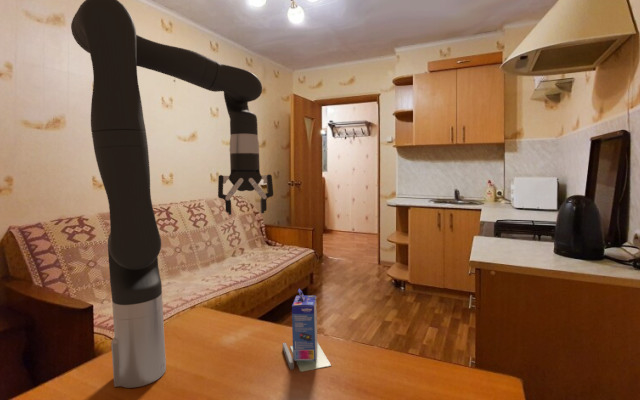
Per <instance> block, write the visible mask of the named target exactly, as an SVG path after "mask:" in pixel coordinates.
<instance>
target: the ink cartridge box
mask: <svg viewBox="0 0 640 400" xmlns="http://www.w3.org/2000/svg"><path fill="white" fill-rule="evenodd" d="M297 294H298V295H296V296H295V298H294V300H293V303H292V304H291V321H292V322H291V323H292V324H291V328H292V330H291V331H292V346H293V353H292V359H293V362H294V361H295V362H296V361H315V360H316V357H317V345H318V344H319V342H318V311H317V308H318V306H317V296H316V295H304V293H303V291H302V290H301V288H298V290H297ZM317 342H318V343H317Z"/></svg>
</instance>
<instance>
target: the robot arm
mask: <svg viewBox="0 0 640 400" xmlns="http://www.w3.org/2000/svg"><path fill="white" fill-rule="evenodd" d="M136 29H137V28H136V25H135V21H134V18H133V17H132V15H131V13H130V11H128V9H127V8H126V7H125V5H124V4H123V3H121V2H120V1H119V0H84V1H83V2H82V3H81V4H80V5H79V7H78V9H77V10H76V12H75V14H74V15H73V17H72V19H71V23H70V30H71V34H72V36H73V39H74V40H75V42H76V43H77V44H78V46H79V47H81V49H83V50H84V51H85V52H87V53H88V54H90V60H91V64H92V72H93V73H92V74H93V75H92V76H93V84H92V85H93V86H92V94H91V105H90V130H91V137H92V144H93V150H94V157H95V160H96V164H97V167H98V171H99V175H100V178H101V182H102V185H103V187H104V190H105V193H106V197H107V201H108V209H109V222H110V225H109V227H110V229H109V230H110V233H109V235H108V239H107V254H108V268H109V283H110V292H111V304H112V319H113V331H114V332H113V333H114V337H113V339H112V340H111V345H110V346H111V357H112V372H113V375H112V376H113V386H114V388H115V387H121V388H122V387H123V388H126V389H127V388H129V389H131V388H133V389H134V388H138V387H144V386H147V385H149V384H151V383H154V382H156V381H158V380H159V379H160V378H161V377H162V376H164V374H165V373H166V370H167V365H166V364H167V359H166V347H165V346H166V341H165V327H164V326H165V325H164V306H163V288H162V286H163V285H162V279H161V275H160V269H159V258H158V256H159V255H160V253H161V249H162V238H161V235H160V230H159V228H158V224H157V220H156V217H155V216H156V215H155V212H154V207H153V201H152V195H151V170H150V155H149V145H148V138H147V131H146V124H145V119H144V112H143V111H144V110H143V104H142V99H141V97H142V96H141V93H140V92H141V91H140V88H139V81H138V80H139V79H138V67H139V68H144V69H147V70H151V71H154V72H157V73H161V74H163V75H167V76H170V77H173V78H174V79H178V80H180V81H184V82H187V83H188V84H191V85H194V86H196V87H199V88H200V89H204V90H207V91H209V92H210V91H211V92H214V93H216V92H218V93H219V92H223V99H224V102H225V106H226V109H227V114H228V116H229V128H230V136H229V137H230V139H229V163H230V173H229V175H223V174H219V175H218V177H217V178H218V180H217V181H218V183H217V198H218V199H221V200H224V202H225V204H224V205H225V206H224V207H225V212H226V213H228V214H227V215H229V216H230V215H231V216H232V199H231V198H232V197H233V196H234V194H235V193H236V192H237V191H239V192H245V191H247V192H252V191H255V192H256V193H257V194H258V195H259V197H260V200H259V201H260V214H265V212H266V211H267V210H268V209H267V208H268V207H267V201H268V200H267V199H269V198H272V197H273V196H274V187H273V176H272V174H269V173H268V174H263V175H262V174H261V172H260V142H259V135H258V134H259V133H258V117H257V115H256V113H254V112H252V111H250V110H249V109H250V107H249V105H248V104H249V103H250V102H253V101H255V100H257V99H258V98H259V97H260V96H261V95H262V92H263V85H262V84H263V83H262V81H261V80H260V78H259V77H258V76H257V75H256V74H254V73H253V72H251V71H249V70H246V69H244V68H240V67H238V66H237V67H236V66H232V65H229V64H224V63H223V64H222V63H220V62H218V61H216V60H214V59H212V58H210V57H207V56H205V55H204V54H201V53H199V52H197V51H194V50H190V49H187V48H182V47H178V46H173V45H169V44H164V43H160V42H157V41H153V40H151V39H147V38H145V37H143V36H140V35H138V34H137V30H136ZM262 180H263V182H264V183H265V184H266V189H267V191H266V193H265V192H264V191H263V189H262V187H260V186H259V184H260V182H261V181H262ZM227 181H229V182H230V183H231V184H232V187H231V188H230V190H229V191H228V192H227V194H224V184H226V183H227Z"/></svg>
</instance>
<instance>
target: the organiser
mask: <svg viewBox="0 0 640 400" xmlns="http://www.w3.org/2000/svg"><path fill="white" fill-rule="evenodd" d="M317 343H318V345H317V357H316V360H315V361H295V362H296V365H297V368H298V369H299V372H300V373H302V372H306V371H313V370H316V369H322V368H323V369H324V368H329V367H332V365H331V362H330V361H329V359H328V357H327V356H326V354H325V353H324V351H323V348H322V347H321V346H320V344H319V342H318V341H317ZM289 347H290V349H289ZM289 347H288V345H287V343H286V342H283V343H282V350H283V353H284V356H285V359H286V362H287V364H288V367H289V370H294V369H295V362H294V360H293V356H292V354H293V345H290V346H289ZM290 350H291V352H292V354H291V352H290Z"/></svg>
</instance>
